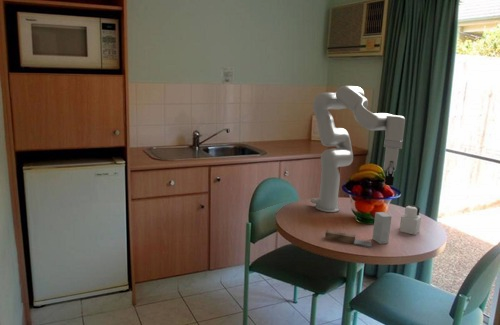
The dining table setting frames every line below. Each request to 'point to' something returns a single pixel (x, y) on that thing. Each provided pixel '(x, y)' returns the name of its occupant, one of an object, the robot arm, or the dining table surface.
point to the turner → (346, 238)
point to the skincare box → (381, 227)
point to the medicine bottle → (410, 220)
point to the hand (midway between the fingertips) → (388, 182)
